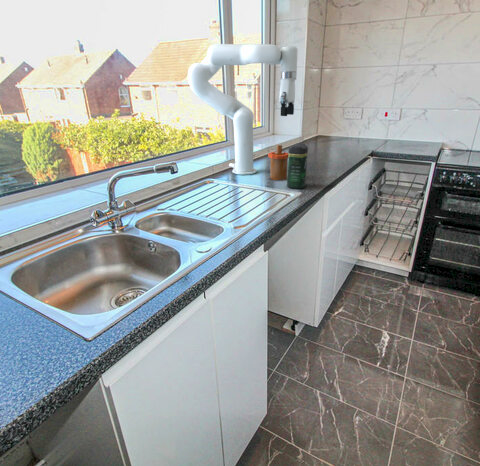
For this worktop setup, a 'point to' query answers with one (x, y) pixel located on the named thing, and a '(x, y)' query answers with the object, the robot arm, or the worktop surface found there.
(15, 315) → the worktop surface
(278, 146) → the bottle
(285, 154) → the bung
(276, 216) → the worktop surface
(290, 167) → the coffee jar
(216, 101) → the robot arm
